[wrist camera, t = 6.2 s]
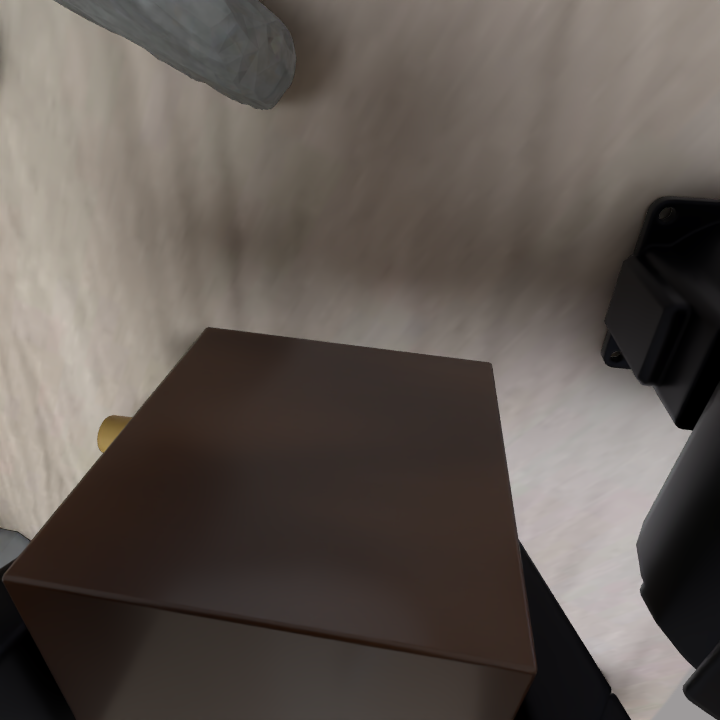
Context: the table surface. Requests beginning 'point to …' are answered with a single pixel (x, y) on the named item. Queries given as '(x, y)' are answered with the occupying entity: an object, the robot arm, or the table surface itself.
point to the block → (290, 545)
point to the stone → (207, 41)
